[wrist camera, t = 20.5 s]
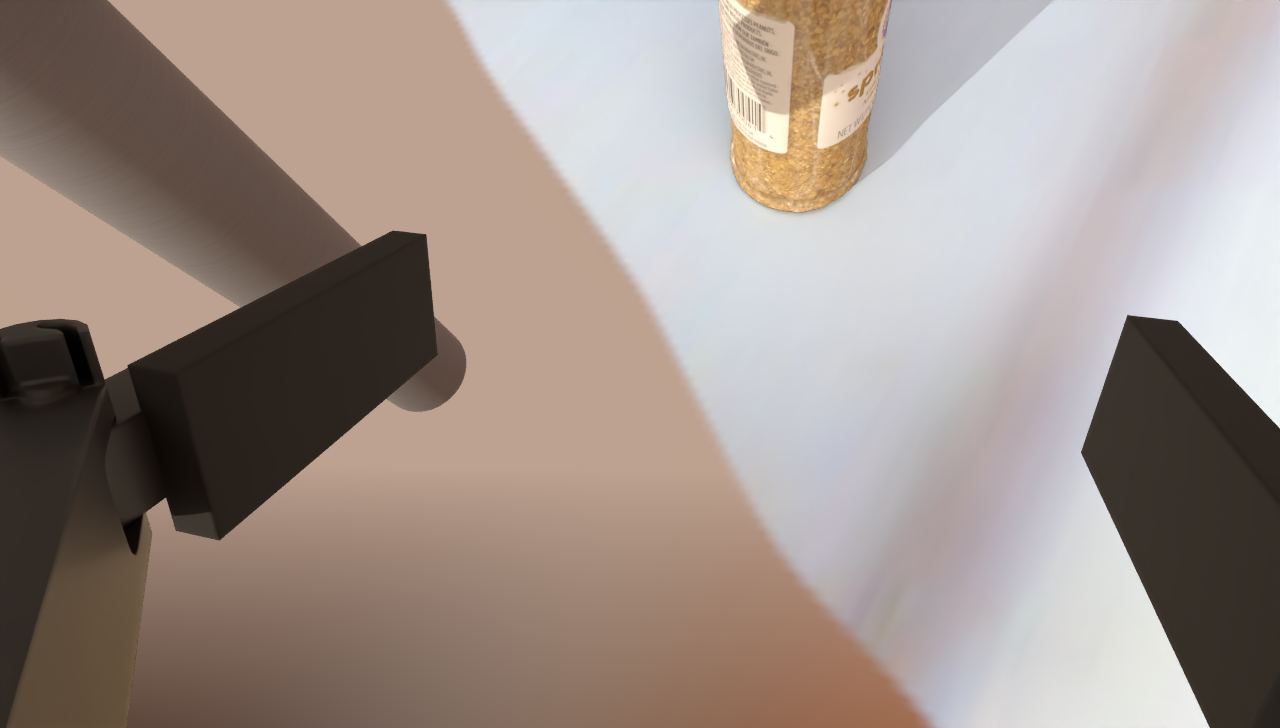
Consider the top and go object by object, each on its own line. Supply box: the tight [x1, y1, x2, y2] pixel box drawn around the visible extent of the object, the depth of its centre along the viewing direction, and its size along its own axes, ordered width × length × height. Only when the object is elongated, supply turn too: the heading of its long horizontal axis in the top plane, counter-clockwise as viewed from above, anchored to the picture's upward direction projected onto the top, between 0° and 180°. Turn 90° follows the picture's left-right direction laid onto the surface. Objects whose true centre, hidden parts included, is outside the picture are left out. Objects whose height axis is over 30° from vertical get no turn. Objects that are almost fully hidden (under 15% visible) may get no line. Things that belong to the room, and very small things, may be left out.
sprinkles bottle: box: [719, 0, 892, 212], centre depth 20 cm, size 5×5×14 cm
